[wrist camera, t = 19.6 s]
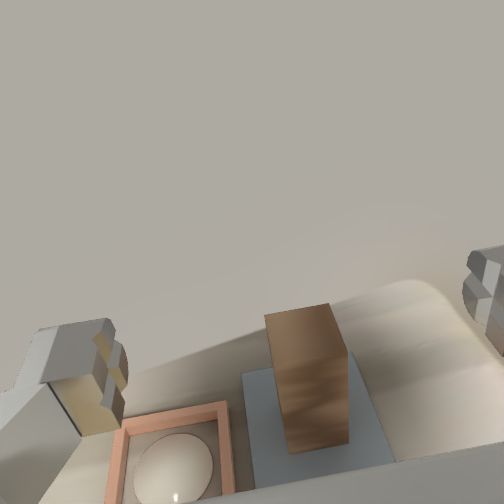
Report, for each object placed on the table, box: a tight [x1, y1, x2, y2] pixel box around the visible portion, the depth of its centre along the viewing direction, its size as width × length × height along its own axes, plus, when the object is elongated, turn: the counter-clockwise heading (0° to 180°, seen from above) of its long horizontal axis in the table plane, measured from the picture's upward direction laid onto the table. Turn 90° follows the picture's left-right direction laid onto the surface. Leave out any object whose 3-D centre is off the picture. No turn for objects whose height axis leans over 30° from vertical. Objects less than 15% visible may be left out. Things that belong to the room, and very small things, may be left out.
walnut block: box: [265, 303, 349, 455], centre depth 32 cm, size 4×4×10 cm
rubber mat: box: [241, 353, 396, 489], centre depth 35 cm, size 10×12×1 cm
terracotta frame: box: [104, 400, 236, 504], centre depth 33 cm, size 9×9×1 cm
